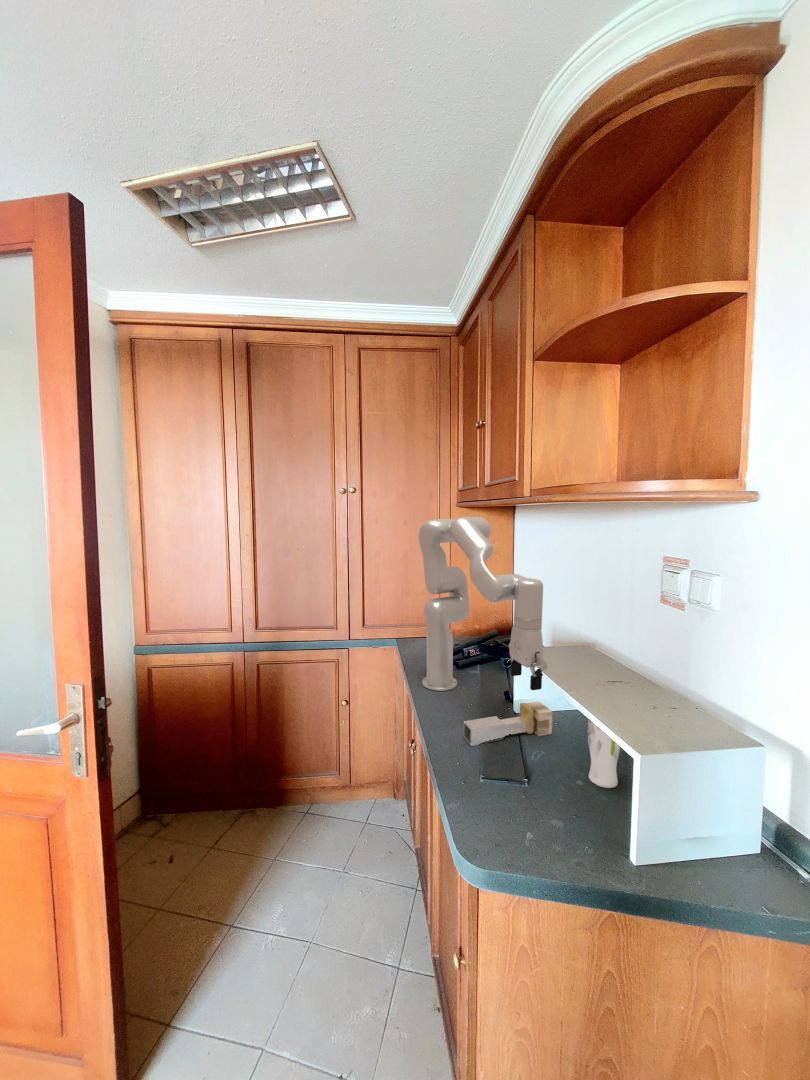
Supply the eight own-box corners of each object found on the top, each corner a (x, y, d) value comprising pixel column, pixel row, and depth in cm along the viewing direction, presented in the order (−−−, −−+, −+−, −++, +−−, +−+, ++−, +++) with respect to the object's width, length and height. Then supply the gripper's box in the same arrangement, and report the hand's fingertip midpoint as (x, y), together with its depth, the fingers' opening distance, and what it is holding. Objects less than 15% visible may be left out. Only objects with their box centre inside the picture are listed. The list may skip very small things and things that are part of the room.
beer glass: (624, 791, 91) (625, 725, 90) (590, 787, 93) (592, 722, 92) (614, 772, 98) (616, 711, 97) (583, 769, 100) (584, 708, 99)
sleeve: (463, 737, 114) (463, 721, 114) (496, 731, 117) (496, 716, 117) (471, 746, 110) (471, 729, 109) (504, 740, 112) (504, 723, 112)
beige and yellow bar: (488, 732, 116) (488, 708, 115) (537, 723, 120) (538, 700, 120) (495, 739, 112) (496, 714, 112) (546, 730, 117) (546, 706, 116)
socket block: (525, 724, 121) (525, 703, 120) (538, 722, 122) (538, 701, 121) (538, 736, 114) (539, 713, 114) (551, 733, 116) (552, 711, 115)
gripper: (500, 615, 123) (498, 671, 124) (534, 633, 106) (531, 697, 107) (522, 614, 125) (520, 669, 126) (559, 630, 108) (556, 693, 110)
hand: (525, 682), depth 117 cm, fingers open, 9 cm apart
